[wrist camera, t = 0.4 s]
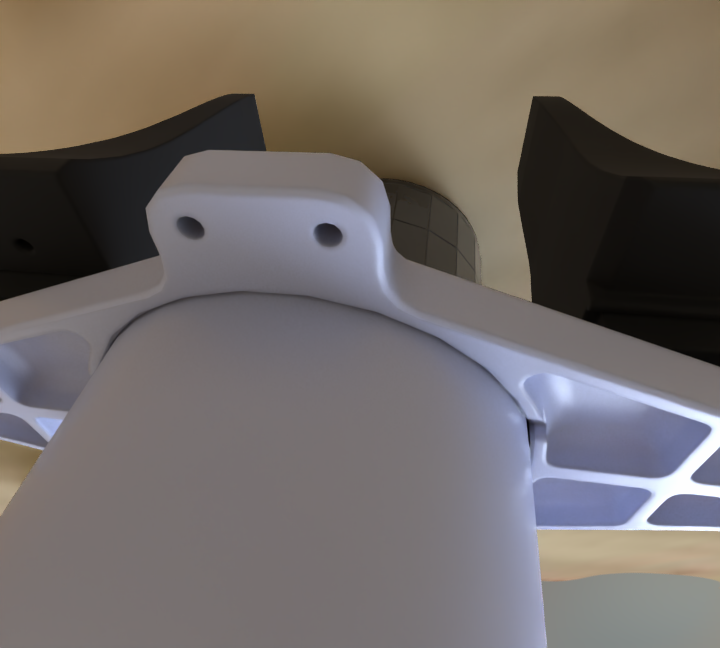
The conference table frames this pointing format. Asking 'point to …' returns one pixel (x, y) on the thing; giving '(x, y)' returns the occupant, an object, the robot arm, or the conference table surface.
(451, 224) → the pot
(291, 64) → the conference table surface
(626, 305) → the robot arm
